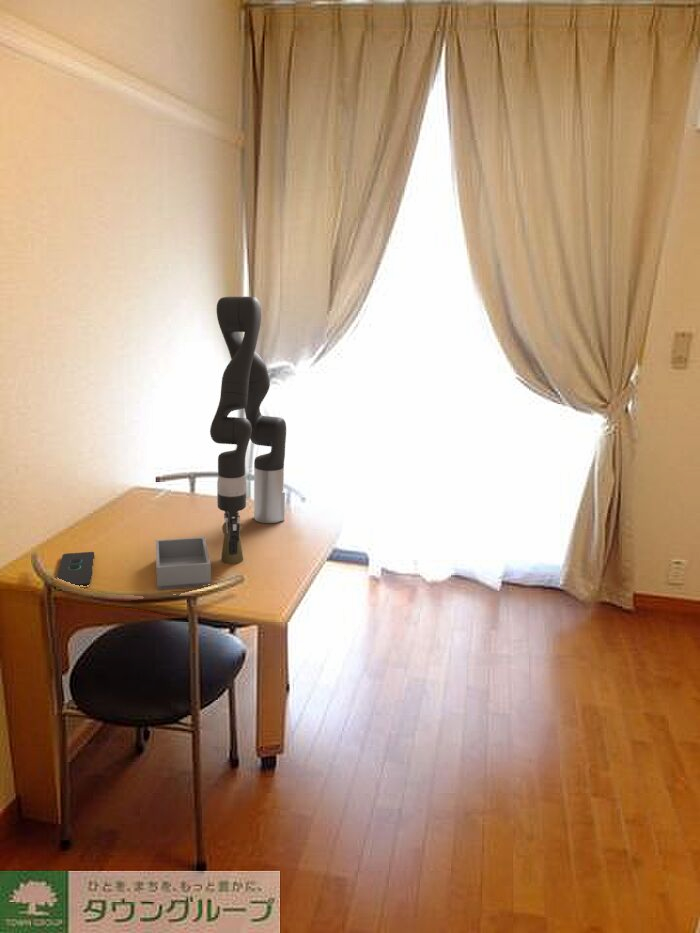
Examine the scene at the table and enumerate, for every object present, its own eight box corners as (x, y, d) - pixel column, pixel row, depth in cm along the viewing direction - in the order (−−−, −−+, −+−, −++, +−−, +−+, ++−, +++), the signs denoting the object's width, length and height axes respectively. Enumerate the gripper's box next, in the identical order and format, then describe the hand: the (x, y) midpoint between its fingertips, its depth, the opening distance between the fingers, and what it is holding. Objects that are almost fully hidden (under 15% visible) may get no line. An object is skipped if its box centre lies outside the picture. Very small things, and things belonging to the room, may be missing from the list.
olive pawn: (222, 555, 192) (221, 518, 189) (244, 555, 192) (243, 518, 189) (219, 564, 186) (219, 526, 183) (242, 564, 186) (242, 526, 183)
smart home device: (94, 550, 188) (89, 582, 170) (95, 556, 189) (90, 588, 170) (62, 553, 186) (53, 585, 167) (62, 559, 186) (53, 591, 168)
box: (205, 557, 190) (204, 536, 188) (210, 585, 173) (210, 563, 172) (156, 560, 186) (155, 540, 185) (157, 590, 170) (156, 567, 168)
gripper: (249, 498, 178) (249, 560, 183) (242, 482, 191) (242, 540, 196) (220, 500, 176) (220, 562, 181) (214, 483, 189) (215, 541, 194)
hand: (232, 550), depth 188 cm, fingers closed on olive pawn, 4 cm apart
